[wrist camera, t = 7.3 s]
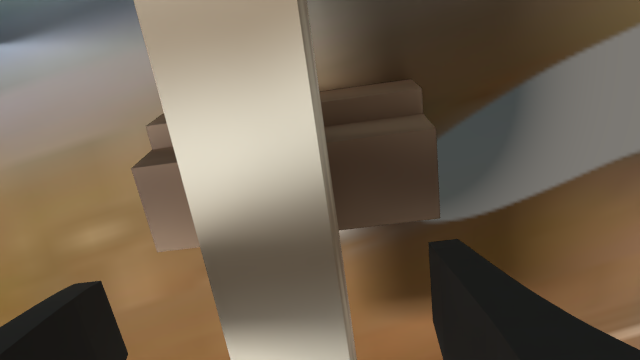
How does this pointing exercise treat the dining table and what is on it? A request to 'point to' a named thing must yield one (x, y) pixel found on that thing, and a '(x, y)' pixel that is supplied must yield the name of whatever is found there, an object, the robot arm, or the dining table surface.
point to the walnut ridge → (344, 159)
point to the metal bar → (254, 170)
